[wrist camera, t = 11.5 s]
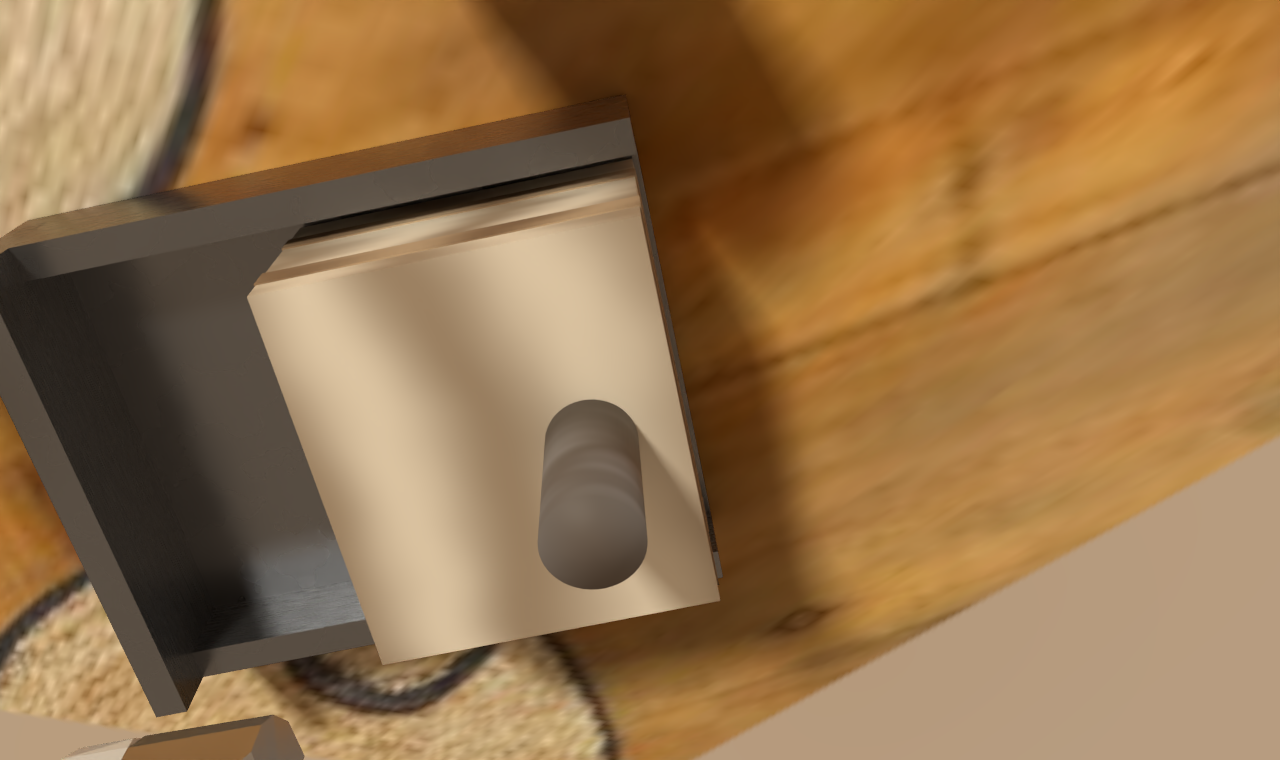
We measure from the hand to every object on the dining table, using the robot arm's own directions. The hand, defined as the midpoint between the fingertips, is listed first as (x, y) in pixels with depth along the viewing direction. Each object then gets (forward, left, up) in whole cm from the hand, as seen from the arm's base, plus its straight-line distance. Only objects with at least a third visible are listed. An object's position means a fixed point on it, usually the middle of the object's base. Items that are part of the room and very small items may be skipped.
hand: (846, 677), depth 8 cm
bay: (+12, +11, -34) cm, 38 cm away
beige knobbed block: (+7, +11, -33) cm, 35 cm away
